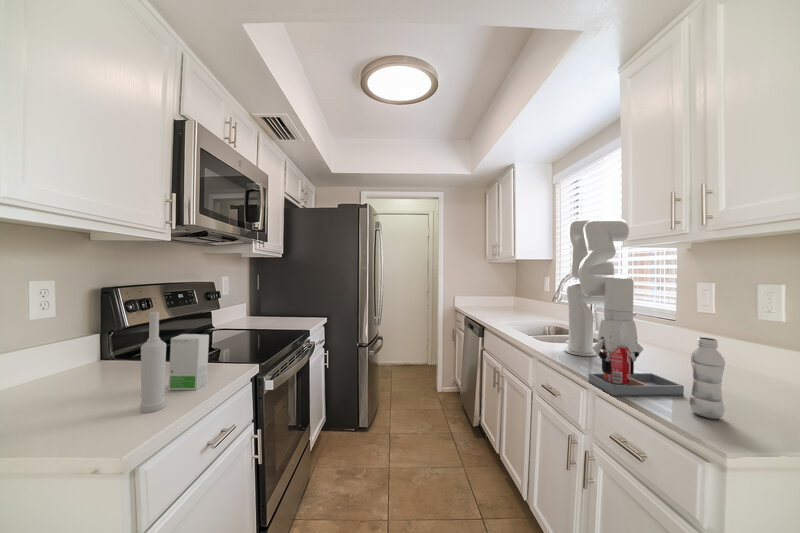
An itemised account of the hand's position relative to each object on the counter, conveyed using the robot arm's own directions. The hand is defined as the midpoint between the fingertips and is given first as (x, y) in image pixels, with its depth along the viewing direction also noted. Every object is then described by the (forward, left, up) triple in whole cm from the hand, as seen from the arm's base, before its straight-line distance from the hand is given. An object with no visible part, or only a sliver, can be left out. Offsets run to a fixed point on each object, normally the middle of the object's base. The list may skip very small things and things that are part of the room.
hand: (617, 372), depth 98 cm
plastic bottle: (+18, +10, -5) cm, 21 cm away
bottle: (+10, -133, -5) cm, 134 cm away
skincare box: (-5, -133, -5) cm, 133 cm away
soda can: (0, 0, -3) cm, 3 cm away
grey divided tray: (0, +5, -5) cm, 7 cm away
